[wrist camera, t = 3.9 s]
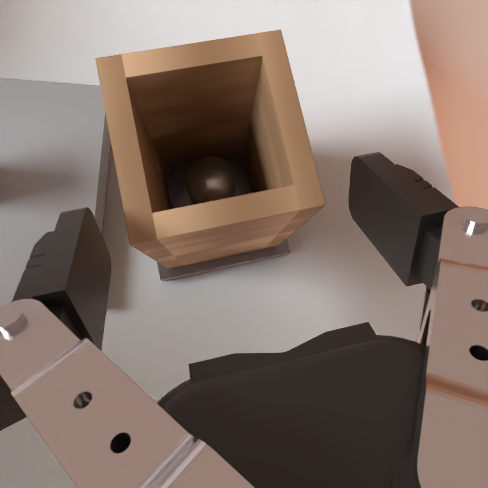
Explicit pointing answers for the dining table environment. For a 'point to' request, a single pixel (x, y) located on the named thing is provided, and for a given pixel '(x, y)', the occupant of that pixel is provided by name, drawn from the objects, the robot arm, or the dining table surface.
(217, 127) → the oak collar
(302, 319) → the dining table surface
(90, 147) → the hub plate
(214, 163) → the grey-brown square knobbed lid
